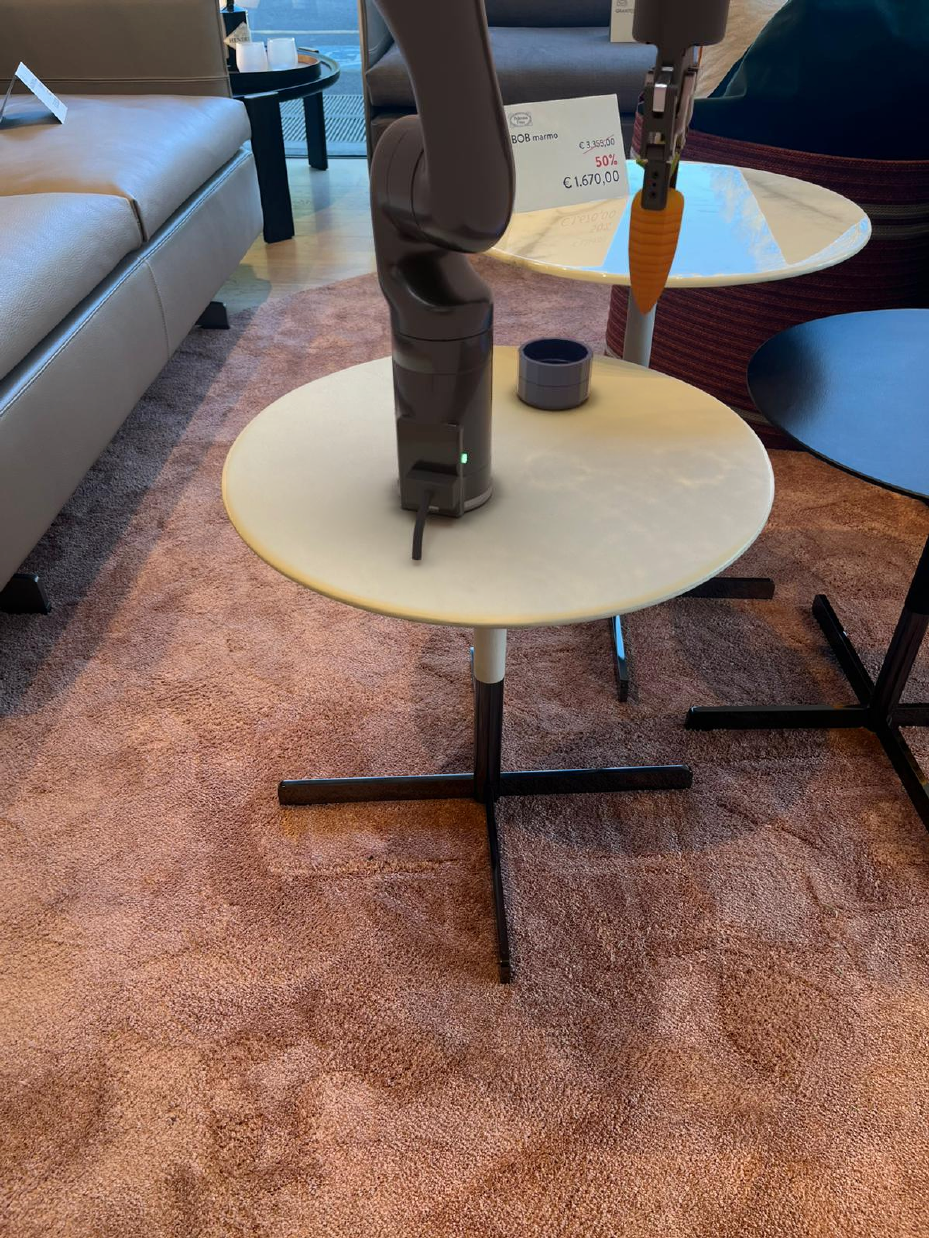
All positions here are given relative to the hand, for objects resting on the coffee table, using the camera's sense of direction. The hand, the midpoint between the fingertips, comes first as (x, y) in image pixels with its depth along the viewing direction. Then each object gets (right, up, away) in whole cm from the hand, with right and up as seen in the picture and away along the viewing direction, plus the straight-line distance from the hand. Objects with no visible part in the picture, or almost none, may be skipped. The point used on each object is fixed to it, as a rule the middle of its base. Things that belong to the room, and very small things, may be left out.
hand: (658, 201), depth 83 cm
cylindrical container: (-7, -11, +27) cm, 30 cm away
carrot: (0, -8, +6) cm, 11 cm away
